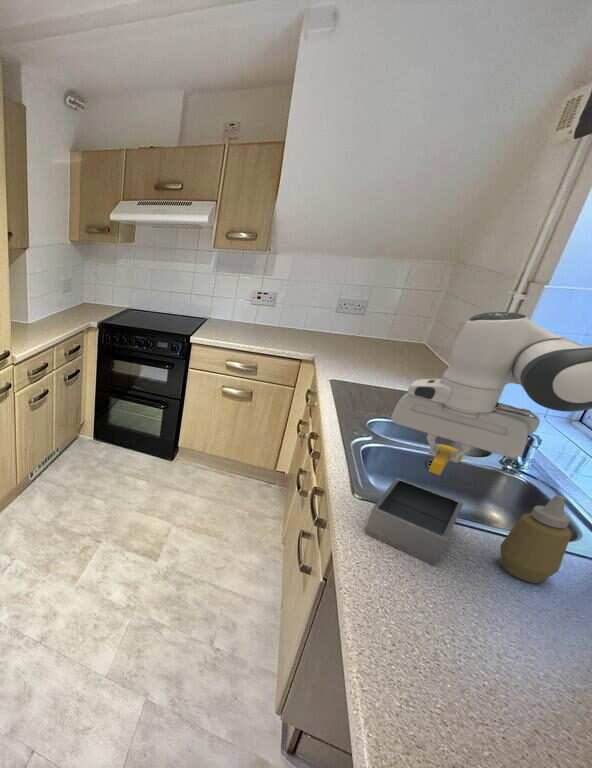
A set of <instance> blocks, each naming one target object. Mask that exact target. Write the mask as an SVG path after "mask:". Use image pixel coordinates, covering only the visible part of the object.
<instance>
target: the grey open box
mask: <svg viewBox="0 0 592 768" xmlns="http://www.w3.org/2000/svg"><path fill="white" fill-rule="evenodd" d="M464 503H465V502H464V501H461V500H458V499H457V498H453V497H450V496H448V495H446V494H443V493H440V492H437V491H434V490H433V489H429V488H427V487H423V486H421V485H418V484H416V483H413V482H410V481H408V480H406V479H402V478H399V477H396V478H395V479H394V480H393V482H391V484H390V485H389V486H388V487H387V489H386V490H385V492H384V493H383V494H382V495H381V497H380V498H379V499H378V501H377V502H376V503H375V504H374V506H373V507H372V509H371V512H370V515H369V518H368V521H367V524H366V527H365V530H364V534H365V535H367V536H370V537H372V538H374V539H375V540H378V541H381V542H383V543H385V544H387V545H389V546H391V547H392V548H396V549H397V550H399V551H402V552H404V553H406V554H407V555H409V556H412V557H415V558H416V559H418V560H421V561H423V562H424V563H427V564H429V565H431V566H433V567H436V566H437V564H438V562H439V560H440V557H441V555H442V553H443V552H444V549H445V546H446V544H447V542H448V540H449V537H450V535H451V533H452V531H453V529H454V526H455V524H456V522H457V519H458V517H459V515H460V513H461V510H462V509H463V506H464Z"/></svg>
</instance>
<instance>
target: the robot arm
mask: <svg viewBox="0 0 592 768" xmlns="http://www.w3.org/2000/svg"><path fill="white" fill-rule="evenodd" d="M508 384H514V385H519V386H521V387H522V388H523V390H524V391H525V393H526V395H527V397H528V398H529V399H531V400H532V401H533V402H534V403H535V404H537V405H539V406H542V407H543V408H546V409H548V410H552V411H558V412H567V413H569V412H571V413H572V412H573V413H574V412H581V411H582V412H583V411H588V410H591V409H592V345H587V346H584V345H582V344H580V343H578V342H576V341H575V340H572V339H569V338H567V337H564V336H561V335H559V334H557V333H554V332H552V331H549V330H547V329H545V328H544V327H542V326H541V325H538V324H536V323H535V322H534V321H532V320H531V319H529V318H528V316H527V315H525V314H522V313H518V312H508V311H496V312H495V311H494V312H493V311H492V312H484V313H478V314H476V315H473V316H472V317H470V318H469V319H468V320H466V322H465V323H464V324H463V327H462V328H461V329H460V331H459V333H458V336H457V337H456V340H455V343H454V345H453V347H452V350H451V353H450V362H449V366H448V368H447V369H446V370H445V371H444V372H443V374H442V377H441V378H420V379H416V380H414V381H412V382H411V383H410V385H409V386H408V389H407V392H406V393H405V394H404V395H403V396H402V397H401V398H400V399H399V400H398V402H397V404H396V405H395V407H394V409H393V411H392V414H391V418H390V419H391V420H392V423H393V424H395V425H398V426H402V427H404V428H405V427H406V428H410V429H412V430H416V431H418V432H423V433H426V434H427V435H426V440H427V443H428V445H429V450H428V453H427V454H428V455H432V456H434V457H436V455H437V454H438V452H439V451H440V448H441V447H440V446H437V445H436V444H437V443H436V439H437V438H438V437H440V438H443V439H447V440H449V441H452V442H456V443H458V444H459V443H460V444H461V446H460V449H458V450H459V451H457V452H456V451H453V450H452V451H451V452H450V454H449V458H448V460H449V461H448V462H453V463H455V464H456V463H458V462H457V461H458V459H459V457H460V456H461V455H463V456H464V454H465V455H466V453H468V452H470V451H471V449H472V448H477V449H480V450H483V451H485V452H489V453H493V454H495V455H500V456H503V457H507V458H510V459H516V458H519V457H522V455H523V453H524V452H525V451H524V450H525V448H526V445H527V442H528V436H529V435H531V434H532V435H533V434H534V433H535V432H536V431H537V430H538V428H539V425H540V423H541V421H540V417H539V416H538V415H537V414H535V413H534V412H532V411H531V410H530V409H527V408H520V407H516V406H513V405H510V404H506V403H501V402H499V401H500V398H501V396H502V395H503V391H504V389H505V387H506V385H508Z"/></svg>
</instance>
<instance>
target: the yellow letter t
mask: <svg viewBox="0 0 592 768" xmlns="http://www.w3.org/2000/svg"><path fill="white" fill-rule="evenodd" d="M436 445H437V446H440V447H441V448H440V451H439V452H438V454H437V455H436V456H434V458H433V460H432V461H431V464H430V466H429V468H428V472H429V473H432V474H434V475H438V476H440V475H441V474H442V473H443V471H444V469H445V467H446V466H447V465H448V463H449V462H450V461H449V460H448V458H449V454H450V452H451V451H452V450H453V451H456V452H457V451H459V450H460V449H458V448H456V447H453V446H451V445H448V444H442V443H436ZM463 457H464V454H463V455H461V456H460V457H459V459H458V461H457V463H458V462H461V461H462V459H463Z"/></svg>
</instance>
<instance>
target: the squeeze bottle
mask: <svg viewBox="0 0 592 768" xmlns="http://www.w3.org/2000/svg"><path fill="white" fill-rule="evenodd" d="M565 501H566V497H565V496H562V495H560V494H555V496H553V497H552V499H550V500H549V501H548V502H547V503H546V504H545V505H535V506H534V507H533V508H532V510H531V512H530V513H523V514H522V515H521V516H520V517H519V519H518V520H517V521H516V523H515V524H514V526H513V527H512V528H511V530H510V531H509V532H508V534H507V535H506V537H505V538H504V540H503V541H502V542H501V544H500V545H499V547H500V566H501V567H502V569H503V570H505V571H506V572H507V573H508V574H509V575H512V576H514V577H515V578H517V579H519V580H522V581H525V582H528V583H531V584H541V583H542V582H543V581H545V580H547V579H549V578H551V576H554V575H555V574H556V573H558V572H559V570H560V567H561V565H562V562H563V559H564V556H565V554H566V550H567V547H568V546H569V542H570V539H571V536H572V532H571V530H570V529H569V528H568V525H569V524H570V522H571V518H570V517H569V516H568V515H567V514H566V513H564V511H565V509H564V508H565V504H566V503H565Z"/></svg>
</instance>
